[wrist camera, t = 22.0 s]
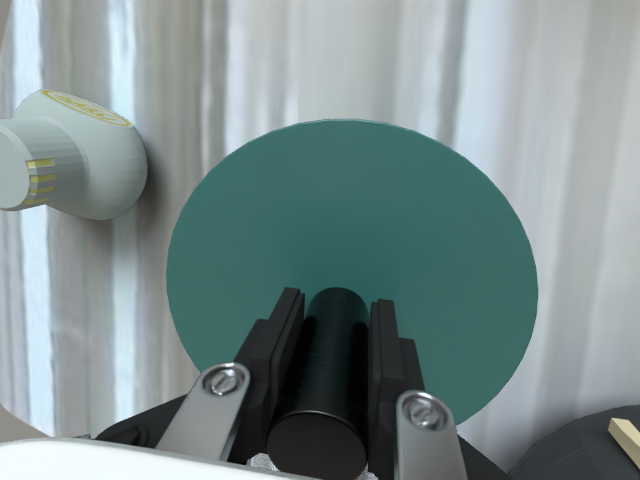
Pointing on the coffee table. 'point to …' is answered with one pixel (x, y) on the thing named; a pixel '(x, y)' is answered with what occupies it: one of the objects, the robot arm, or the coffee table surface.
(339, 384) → the lid
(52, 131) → the air freshener
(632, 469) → the bowl
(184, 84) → the coffee table surface
